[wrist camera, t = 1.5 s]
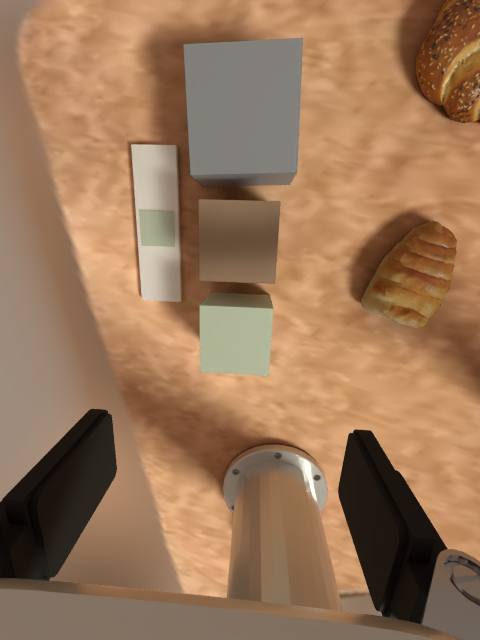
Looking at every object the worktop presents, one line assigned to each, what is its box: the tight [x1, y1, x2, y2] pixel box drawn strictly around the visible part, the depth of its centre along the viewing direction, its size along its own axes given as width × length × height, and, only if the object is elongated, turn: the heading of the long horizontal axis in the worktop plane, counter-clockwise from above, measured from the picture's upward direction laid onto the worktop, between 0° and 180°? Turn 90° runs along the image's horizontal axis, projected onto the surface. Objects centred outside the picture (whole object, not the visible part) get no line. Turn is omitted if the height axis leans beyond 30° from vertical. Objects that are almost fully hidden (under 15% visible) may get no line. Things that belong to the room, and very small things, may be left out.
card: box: [131, 144, 182, 302], centre depth 26 cm, size 14×4×1 cm, turn 178°
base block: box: [183, 38, 303, 187], centre depth 22 cm, size 8×8×5 cm
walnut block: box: [199, 199, 280, 284], centre depth 24 cm, size 6×6×6 cm
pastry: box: [361, 221, 457, 328], centre depth 25 cm, size 9×7×4 cm
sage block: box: [200, 292, 273, 376], centre depth 26 cm, size 6×6×6 cm
